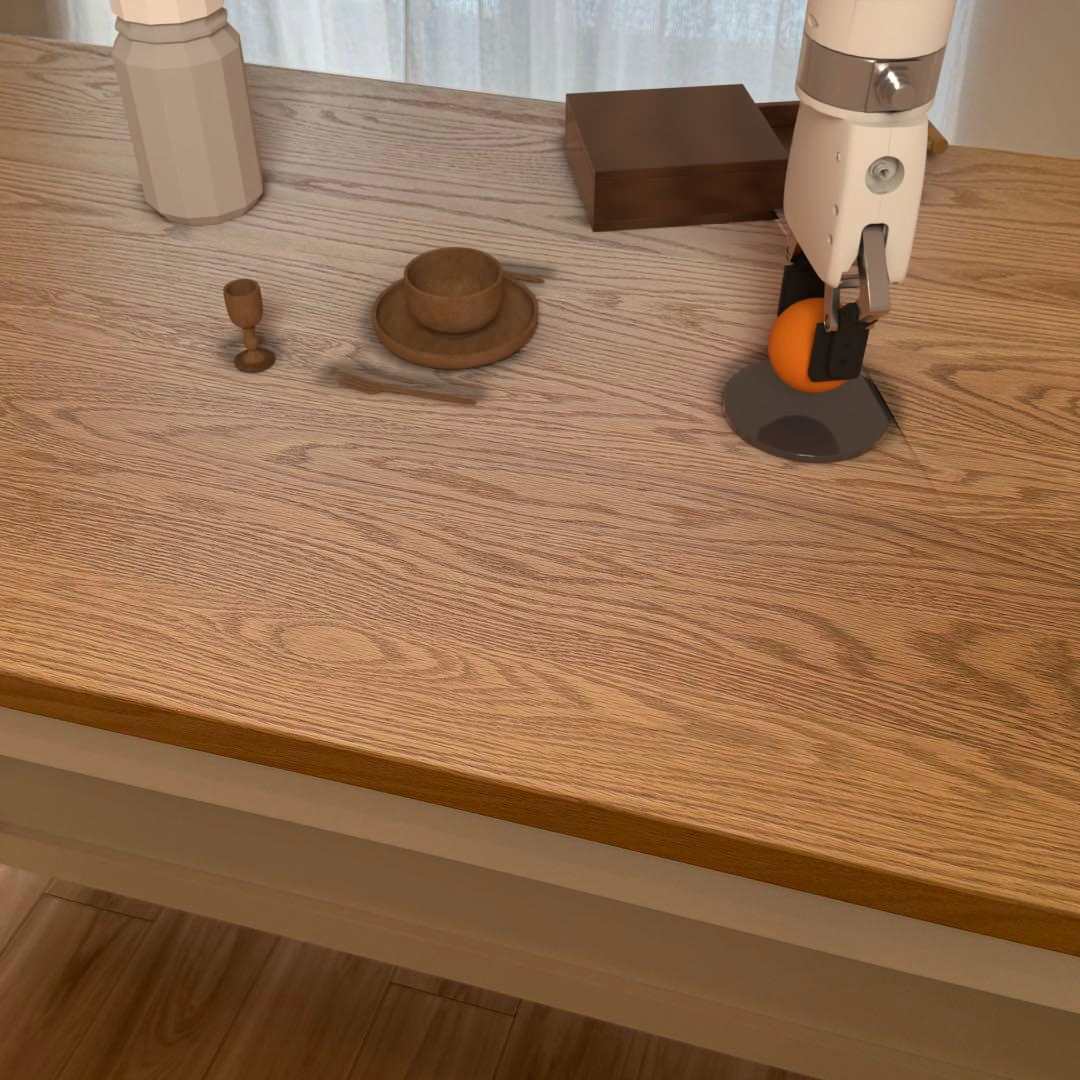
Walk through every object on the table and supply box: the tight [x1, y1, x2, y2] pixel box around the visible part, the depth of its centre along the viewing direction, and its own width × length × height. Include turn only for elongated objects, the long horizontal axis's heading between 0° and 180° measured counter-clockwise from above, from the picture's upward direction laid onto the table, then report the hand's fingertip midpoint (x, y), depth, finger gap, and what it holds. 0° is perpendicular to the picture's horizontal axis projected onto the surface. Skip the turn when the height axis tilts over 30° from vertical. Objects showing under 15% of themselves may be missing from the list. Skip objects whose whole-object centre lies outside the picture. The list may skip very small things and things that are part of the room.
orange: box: [767, 298, 847, 393], centre depth 79 cm, size 6×6×6 cm
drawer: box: [755, 99, 949, 155], centre depth 106 cm, size 19×14×3 cm
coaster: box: [722, 359, 892, 464], centre depth 83 cm, size 11×11×1 cm
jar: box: [108, 0, 264, 227], centre depth 98 cm, size 10×10×18 cm
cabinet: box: [564, 83, 789, 233], centre depth 105 cm, size 16×15×5 cm
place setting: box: [222, 246, 545, 405], centre depth 88 cm, size 18×20×6 cm
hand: (816, 345), depth 79 cm, fingers closed on orange, 6 cm apart
